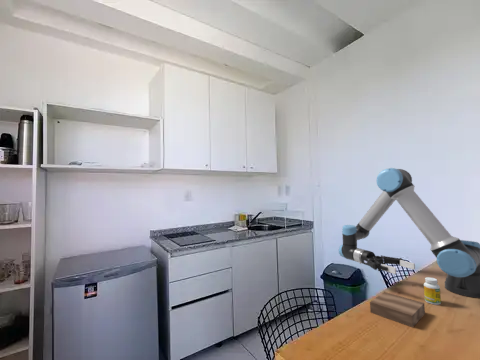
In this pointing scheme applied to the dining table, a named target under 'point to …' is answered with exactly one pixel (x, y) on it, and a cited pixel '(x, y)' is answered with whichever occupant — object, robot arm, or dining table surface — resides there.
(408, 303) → the walnut riser
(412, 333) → the dining table surface
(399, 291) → the dining table surface
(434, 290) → the supplement bottle
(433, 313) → the dining table surface
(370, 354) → the dining table surface
